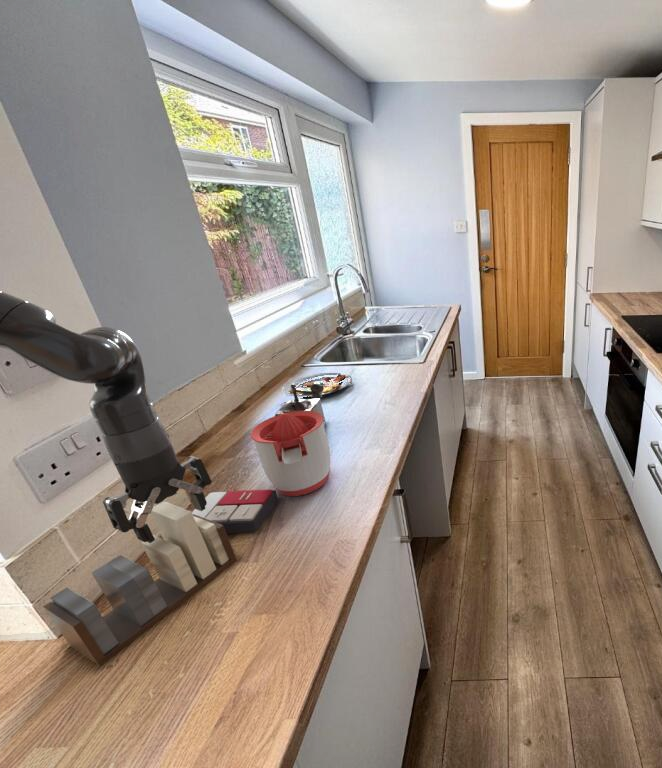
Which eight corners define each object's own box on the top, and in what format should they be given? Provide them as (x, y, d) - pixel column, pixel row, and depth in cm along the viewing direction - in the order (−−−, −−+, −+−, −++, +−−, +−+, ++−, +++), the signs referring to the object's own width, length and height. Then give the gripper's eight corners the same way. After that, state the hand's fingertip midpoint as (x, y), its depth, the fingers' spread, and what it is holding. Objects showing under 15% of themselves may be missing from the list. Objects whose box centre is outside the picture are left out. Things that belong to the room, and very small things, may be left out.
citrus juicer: (268, 515, 92) (242, 440, 84) (271, 475, 107) (249, 408, 99) (340, 494, 99) (323, 422, 91) (334, 459, 113) (318, 394, 105)
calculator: (252, 519, 86) (177, 522, 85) (257, 534, 88) (183, 538, 86) (276, 487, 96) (209, 489, 95) (279, 501, 98) (214, 504, 96)
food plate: (361, 377, 170) (359, 369, 169) (337, 401, 149) (335, 392, 147) (303, 377, 171) (301, 370, 170) (271, 401, 150) (269, 393, 149)
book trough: (69, 645, 65) (39, 601, 61) (208, 547, 84) (192, 509, 80) (100, 666, 62) (69, 622, 58) (237, 560, 80) (221, 521, 77)
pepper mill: (280, 443, 122) (263, 389, 115) (294, 425, 132) (279, 374, 125) (333, 439, 123) (320, 385, 116) (342, 421, 133) (331, 371, 126)
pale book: (176, 566, 78) (149, 509, 73) (190, 557, 80) (164, 501, 75) (203, 579, 75) (176, 520, 70) (216, 569, 77) (191, 511, 72)
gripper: (174, 424, 74) (203, 495, 81) (73, 467, 62) (117, 546, 69) (200, 431, 72) (228, 504, 78) (100, 477, 60) (143, 559, 66)
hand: (176, 524), depth 73 cm, fingers open, 8 cm apart
